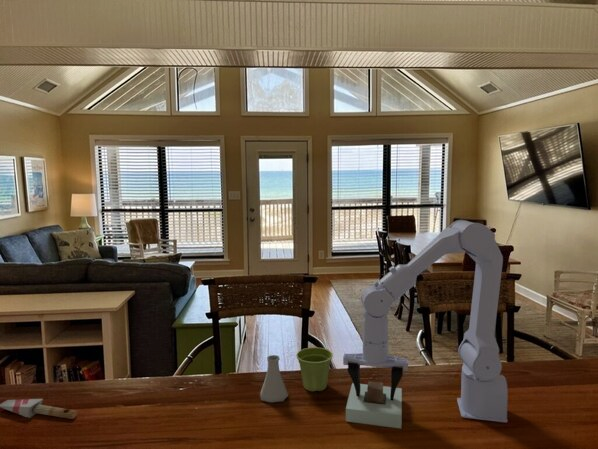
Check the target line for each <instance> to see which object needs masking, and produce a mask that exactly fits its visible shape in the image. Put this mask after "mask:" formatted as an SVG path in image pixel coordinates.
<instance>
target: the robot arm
mask: <svg viewBox="0 0 598 449" xmlns="http://www.w3.org/2000/svg"><path fill="white" fill-rule="evenodd" d="M495 238H496V234H495V233H494V232H493V231H492V230H491V229H490V228H488V227H487V226H486V225H485V224H482V223H480V222H472V221H469V220H466V219H458V220H455V221H453V222H452V223H450V225H449V227H448V226H447V227H446V228H444V229H443V230H441V232H440V233H439V234H438V235H436V237H434V238H433V239H432V241H430V242H429V243H428V244H427V245H426V246H425V247H424V248H422V250H421V251H419V253H417V255H415V256H414V257H413V258H412V259H411V260H410V261H409V262H407V264H397V265H396V266H394V265H392V266H391V267H389V268H388V270H389V272H387V274H385V275H384V276H383V277H382V278H381V279H379V280H375V281H374V282H373V283H372V286H371V285H370V286H368V287H366V288H364V291H363V292H362V295H361V296H360V301H361V304H362V305H363V312H362V317H363V318H362V352H361V353H358V352H357V353H344V354H343V357H342V358H343V360H342V362H343V365H344V366H347V373H348V374H349V377H350V378H351V381H352V383H354V386H355V390H356V396H360V384H361V377H360V376H361V366H366V367H373V368H387V369H391V372H390V373H391V379H390V380H391V381H390V383H391V384H390V387H391V394H390V400H394V394H395V390H396V388H398V385H399V383H400V381H401V380H402V378H403V374H404V373H403V372H404V371H405V372H406V371H407V372H408V371H409V366H408V365H409V360H408V359H407V358H402V357H401V358H400V357H398V356H392V355H389V321H388V313H390V311H391V309H392V304H393V303H395V302H396V301H397V300H398V299H400V298H401V297H402V296H403V295H404V294H405V293H407V292H408V291H409V290H411V289H412V288H413V287H414V286H415V285H416V284H417V278H418V276H419V275H420V274H421V273H422V272H424V271H425V270H426V269H428V268H429V267H431V266H432V265H433V264H434V263H436V262H438V261H439V260H440V259H441V258H443V257H444V256H446V255H448V254H449V255H452V254H453V255H454V254H463V251H464V252H465V253H466V254H467V255H468V256H469V257H470V258H471V259H472V260H473V261H474V262H475V270H474V277H473V278H474V280H473V286H472V287H473V288H472V298H471V307H470V316H469V326H468V329H467V330H466V331H465V332H464V333H463V340H462V341H461V343H460V345H459V346H458V348H457V349H458V351H457V353H458V357H459V358H460V360H461V361H462V367H461V376H460V378H461V382H460V385H461V386H460V389H461V390H460V397H457V398H456V401H457V405H458V409H459V410H458V411H459V412H460V416H461V418H465V419H471V420H472V419H473V420H481V421H488V422H489V421H490V422H497V423H505V424H506V423H508V394H509V393H508V382H507V379H506V377H505V376H504V375H503V374H501V372H502V368H503V366H502V365H503V364H502V361H501V359H500V347H499V345H498V342H497V339H496V337H495V333H496V325H497V314H498V306H499V299H500V297H499V296H500V290H501V279H502V271H503V264H504V256H503V254H502V251H501V250H500V247H499V246H498V244H497V241H496V239H495Z"/></svg>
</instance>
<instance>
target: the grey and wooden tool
mask: <svg viewBox="0 0 598 449" xmlns="http://www.w3.org/2000/svg"><path fill="white" fill-rule="evenodd" d="M43 402H44V398H26V399H7V400H5V401H3V402H2V403H0V408H1V409H4V410H7V411H8V412H9V411H10V412H12V413H15V414H16V415H20V416H22V417H25V418H27V417H28V418H29V419H30V418H32V417H34V416H35V415H36V414H40V415H45V416H46V415H47V416H51V417H56V418H57V417H58V418H63V419H64V418H66V419H68V420H69V419H70V420H73V419H74V420H75V418H76V417H77V416H78V411H77V410H74V409H68V408H62V407H56V406H50V405H45V404H44V405H43V404H42V403H43Z"/></svg>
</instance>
